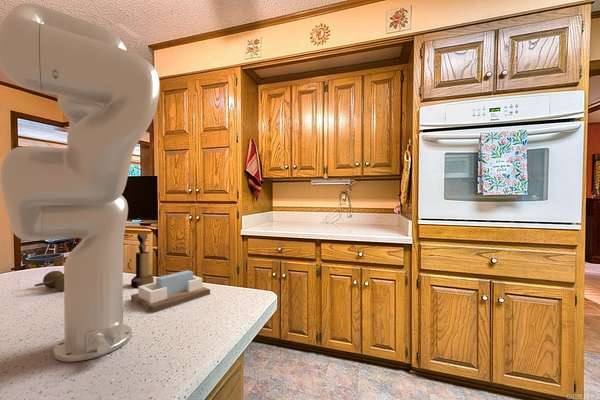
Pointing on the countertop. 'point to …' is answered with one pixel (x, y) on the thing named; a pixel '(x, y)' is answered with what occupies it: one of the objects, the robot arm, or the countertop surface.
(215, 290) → the countertop surface
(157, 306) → the board
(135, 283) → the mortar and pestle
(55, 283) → the kendama
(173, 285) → the light blue rectangular block
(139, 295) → the end caps
